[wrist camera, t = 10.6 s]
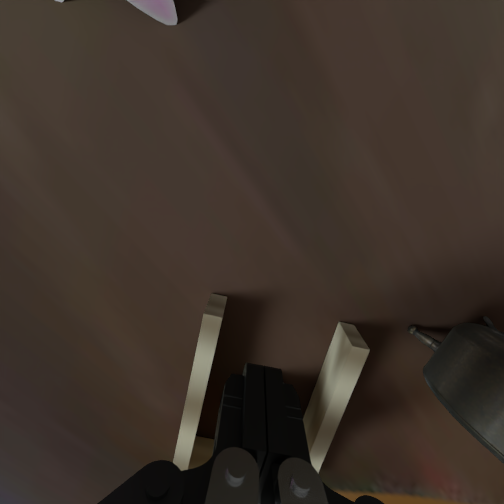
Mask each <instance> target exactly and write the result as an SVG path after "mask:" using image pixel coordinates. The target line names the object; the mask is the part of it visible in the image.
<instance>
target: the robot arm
mask: <svg viewBox="0 0 504 504" xmlns="http://www.w3.org/2000/svg"><path fill="white" fill-rule="evenodd" d="M98 504H384V503H382V502H381V501H380V500H378V499H376V498H374V497H372V496H367V495H364V496H360V497H358V498H357V499H356V501H355V502H353V501H351V500H349V499H347V498H345V497H343V496H342V495H340V494H338V493H336V492H334V491H333V490H331V489H330V488H328V487H327V486H326V485H325V484H324V483H323V482H322V480H321V478H320V476H319V474H318V472H317V471H316V470H315V468H314V467H313V466H312V464H311V460H310V454H309V449H308V443H307V438H306V433H305V427H304V422H303V417H302V411H301V406H300V400H299V396H298V394H297V392H296V391H295V389H294V387H293V386H292V385H291V384H286V383H283V377H282V371H281V369H278V368H273V367H267V366H262V365H256V364H251V363H246V364H245V367H244V371H243V375H237V374H231V375H230V377H229V378H228V380H227V381H226V382H225V386H224V391H223V395H222V399H221V403H220V408H219V413H218V419H217V426H216V433H215V439H214V446H213V452H212V457H211V458H210V459H209V460H208V461H207V462H206V463H204V464H203V465H201V466H199V467H196V468H192V469H188V470H183V471H181V470H180V469H179V468H178V466H177V465H175V464H174V463H172V462H170V461H166V460H159V461H154V462H151V463H149V464H147V465H146V466H144V467H143V468H142V469H141V470H139V471H138V472H137V473H136V474H134V475H133V476H132V477H130V478H129V479H128V480H127V481H125V482H124V483H123V484H122V485H120V486H119V487H118V488H117V489H115V490H114V491H113V492H112V493H110V494H109V495H108V496H107V497H105V498H104V499H103V500H102V501H100V502H99V503H98Z"/></svg>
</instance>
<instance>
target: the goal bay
mask: <svg viewBox="0 0 504 504" xmlns="http://www.w3.org/2000/svg"><path fill="white" fill-rule="evenodd" d="M226 301H227V297H226V296H221V295H217V294H212V293H211V296H210V299H209V301H208V304H207V307H206V309H205V312H204V315H203V320H202V325H201V330H200V334H199V339H198V344H197V349H196V354H195V359H194V364H193V368H192V373H191V378H190V383H189V388H188V393H187V397H186V402H185V407H184V412H183V417H182V422H181V427H180V431H179V436H178V441H177V446H176V451H175V456H174V460H173V463H174V464H175V465H177V466H178V468H179V469H180V470H181V471H183V470H188V469H192V468H196V467H199V466H201V465H203V464H204V463H206V462H207V461H208V460H209V459H210V458H211V457H212V452H213V446H214V439H209V438H204V437H199V436H196V432H197V427H198V423H199V419H200V414H201V410H202V406H203V401H204V397H205V392H206V388H207V384H208V379H209V375H210V371H211V366H212V362H213V358H214V353H215V349H216V345H217V340H218V336H219V332H220V327H221V323H222V318H223V314H224V310H225V305H226ZM369 351H370V349H369V348H368V346H367V344H366V343H365V341H364V340H363V338H362V337H361V335H360V333H359V332H358V330H357V329H356V327H355V326H354V325H352V324H347V323H343V322H339V323H338V326H337V328H336V331H335V334H334V336H333V339H332V342H331V344H330V347H329V350H328V353H327V355H326V358H325V361H324V363H323V366H322V369H321V372H320V374H319V377H318V380H317V382H316V385H315V388H314V390H313V393H312V396H311V399H310V401H309V404H308V407H307V409H306V412H305V415H304V418H303V422H304V427H305V433H306V438H307V443H308V449H309V454H310V460H311V464H312V466H313V467H314V468H315V470H316V471H317V472H318V473H319V470H320V468H321V465H322V463H323V461H324V458H325V456H326V453H327V451H328V449H329V446H330V444H331V442H332V439H333V437H334V434H335V432H336V430H337V427H338V425H339V423H340V420H341V418H342V415H343V413H344V411H345V408H346V406H347V404H348V401H349V399H350V396H351V394H352V392H353V389H354V387H355V385H356V382H357V380H358V377H359V375H360V373H361V370H362V368H363V366H364V363H365V361H366V358H367V356H368V354H369Z"/></svg>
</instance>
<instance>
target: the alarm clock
mask: <svg viewBox="0 0 504 504" xmlns="http://www.w3.org/2000/svg"><path fill="white" fill-rule="evenodd" d="M483 319H484V321H485V323H486V326H484V325H480V324H475V323H462V324H459V325H456V326H455V327H453V328H452V330H451V331H450V332H449V334H448V335H447V336H446V338H445V339H444V341H443V342H439V341H437V340H435V339H434V338H432V337H430V336H429V335H427V334H424V333H422V332H419V331H418V329H417V328H416V327H415V326H409V328H408V332H409V333H410V334H413V335H415V336H416V337H417V338H418V339H419V340H420V341H421V342H422V343H424V344H425V345H427V346H428V347H429V348H431V349H432V350H433V351H434V352H435V353H434V354H433V356H432V357H431V359H430V360H429V361H428V363H427V364H426V365H425V366H424V368H423V374H424V377H425V380H426V382H427V384H428V386H429V387H430V388H431V390H432V391H433V393H434V394H435V396H436V397H437V398H438V400H439V401H440V402H441V403H442V404H443V405H444V406H445V408H446V409H447V410H448V411H449V413H450V414H451V415H452V416H453V417H454V418H455V419H456V420H457V421H458V422H459V423H460V424H461V425H462V426H463V427H464V428H465V429H466V430H467V431H468V432H469V433H470V434H472V435H473V436H474V437H475V438H476V439H477V440H478V441H479V442H480V443H481V444H482V445H483V446H485V447H486V448H487V449H488V450H489V451H490V452H491V453H493V454H494V455H495V456H496V457H497V458H498V459H499V460H500V461H501V462H502V463H504V333H503V332H499V331H498V330H497V329H496V328H495V327H494V325H493V323H492V322H491V321H490V319H489V318H488V317H486V316H484V317H483Z"/></svg>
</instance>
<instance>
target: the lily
mask: <svg viewBox="0 0 504 504" xmlns="http://www.w3.org/2000/svg"><path fill="white" fill-rule="evenodd" d="M55 1H59V2H63V1H64V0H55ZM127 1H128V2H130V3H131V4H133V5H134V6H135V7H137V8H138V9H140V10H141V11H143V12H144V13H146V14H148V15H149V16H151V17H152V18H154V19H156V20H157V21H160V22H162V23H164V24H166V25H176V24H177V20H178V19H177V14H176V9H175V5H174V2H173V0H127Z"/></svg>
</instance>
